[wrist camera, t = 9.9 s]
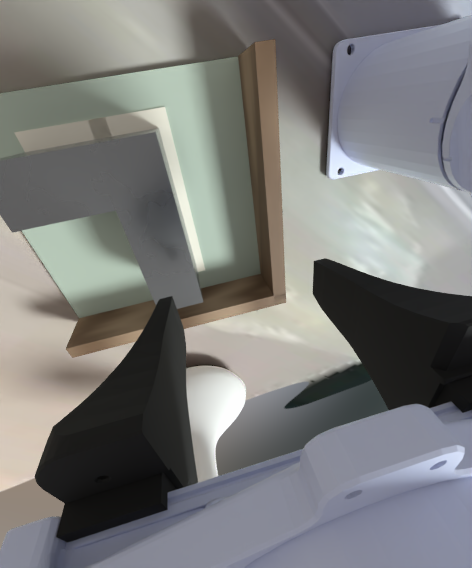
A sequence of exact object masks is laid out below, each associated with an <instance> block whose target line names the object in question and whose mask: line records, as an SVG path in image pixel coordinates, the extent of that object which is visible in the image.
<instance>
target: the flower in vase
mask: <svg viewBox="0 0 472 568" xmlns="http://www.w3.org/2000/svg"><path fill="white" fill-rule="evenodd" d="M186 390H187V402H188V411H189V419H190V427H191V435H192V443H193V450H194V457H195V464H196V471H197V478H198V483H199V482H202V481H205V480H208V479H211V478H214V477H217V476H218V472H217V466H216V456H215V449H216V444H217V441H218V439H219V437H220V436H221V435H222V433H223V432H224V431H225V430H226V429H227V428H228V427H229V426H230V425H231V423H232V422H233V421H234V420H235V419H236V418H237V416H238V415H239V413H240V411H241V410H242V408H243V406H244V403H245V398H246V387H245V384H244V382H243V381H242V380H241V379H240V378H239V377H238V376H237V375H235V374H234V373H233V372H231V371H229V370H227V369H224V368H221V367H217V366H195V367H190V368H186Z"/></svg>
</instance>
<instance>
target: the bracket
mask: <svg viewBox="0 0 472 568" xmlns="http://www.w3.org/2000/svg"><path fill="white" fill-rule="evenodd" d="M112 211H116V212H117V215H118V217H119V219H120V222H121V224H122V226H123V229H124V231H125V234H126V236H127V238H128V241H129V243H130V245H131V248H132V250H133V253H134V255H135V257H136V260H137V262H138V264H139V267H140V269H141V272H142V274H143V276H144V279H145V281H146V283H147V286H148V288H149V291H150V293H151V295H152V298H153V300H154V302H155V305H157V302H158V301H159V299H162V298H166V297H170V296H172V297H173V299H174V302H175V305H176V308H177V309H179V308H183V307H187V306H191V305H195V304H199V303H202V302H203V297H202V292H201V287H200V281H199V276H198V271H197V266H196V262H195V259H194V255H193V251H192V248H191V244H190V240H189V237H188V233H187V229H186V226H185V222H184V218H183V215H182V211H181V207H180V204H179V200H178V196H177V193H176V189H175V185H174V182H173V178H172V174H171V171H170V167H169V163H168V160H167V156H166V152H165V149H164V145H163V141H162V138H161V134H160V130H159V128H155V129H150V130H144V131H139V132H133V133H128V134H123V135H117V136H112V137H106V138H101V139H95V140H90V141H84V142H79V143H73V144H68V145H63V146H57V147H52V148H46V149H41V150H35V151H30V152H24V153H20V154H16V155H12V156H8V157H4V158H0V215H1V217H2V218H3V220H4V221H5V223H6V224H7V225H8V227H9V228H10V230H11V231H12V232H17V231H22V230H26V229H31V228H36V227H41V226H45V225H50V224H55V223H60V222H64V221H69V220H74V219H78V218H83V217H88V216H93V215H97V214H102V213H107V212H112Z"/></svg>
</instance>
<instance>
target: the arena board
mask: <svg viewBox="0 0 472 568" xmlns="http://www.w3.org/2000/svg"><path fill="white" fill-rule="evenodd" d="M155 128H159V130H160V134H161V138H162V141H163V145H164V149H165V152H166V156H167V160H168V163H169V167H170V171H171V174H172V178H173V182H174V185H175V189H176V193H177V196H178V200H179V204H180V207H181V211H182V215H183V218H184V222H185V226H186V229H187V233H188V237H189V240H190V244H191V248H192V251H193V255H194V259H195V262H196V266H197V271H198V276H199V281H200V287H201V288H205V287H209V286H213V285H217V284H221V283H225V282H229V281H233V280H237V279H241V278H245V277H249V276H254V275H258V274H261V272H260V262H259V253H258V243H257V234H256V224H255V214H254V205H253V195H252V186H251V176H250V167H249V157H248V147H247V138H246V128H245V119H244V109H243V99H242V90H241V80H240V71H239V61H238V57H231V58H225V59H218V60H212V61H205V62H199V63H192V64H186V65H179V66H173V67H167V68H160V69H154V70H147V71H141V72H134V73H128V74H121V75H115V76H109V77H102V78H96V79H89V80H83V81H76V82H70V83H63V84H57V85H50V86H44V87H38V88H31V89H25V90H18V91H12V92H5V93H0V158H4V157H8V156H12V155H16V154H20V153H24V152H30V151H35V150H41V149H46V148H52V147H57V146H63V145H68V144H73V143H79V142H84V141H90V140H95V139H101V138H106V137H112V136H117V135H123V134H128V133H133V132H139V131H144V130H150V129H155ZM22 232H23V234H24V235H25V237H26V238H27V240H28V241H29V243H30V244H31V246H32V247H33V249H34V250H35V252H36V253H37V255H38V257H39V258H40V260H41V261H42V263H43V264H44V266H45V267H46V269H47V270H48V272H49V273H50V275H51V276H52V278H53V279H54V281H55V282H56V284H57V285H58V287H59V288H60V290H61V291H62V293H63V294H64V296H65V298H66V299H67V301H68V302H69V304H70V305H71V307H72V308H73V310H74V311H75V313H76V314H77V316H78V317H79V318H82V317H86V316H90V315H94V314H98V313H102V312H106V311H111V310H115V309H119V308H123V307H127V306H131V305H135V304H139V303H143V302H147V301H151V300H153V298H152V295H151V293H150V291H149V288H148V286H147V283H146V281H145V279H144V276H143V274H142V272H141V269H140V267H139V264H138V262H137V260H136V257H135V255H134V253H133V250H132V248H131V245H130V243H129V241H128V238H127V236H126V234H125V231H124V229H123V226H122V224H121V222H120V219H119V217H118V215H117V212H116V211H112V212H107V213H102V214H97V215H93V216H88V217H83V218H78V219H74V220H69V221H64V222H60V223H55V224H50V225H45V226H41V227H36V228H31V229H26V230H22Z"/></svg>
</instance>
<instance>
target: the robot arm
mask: <svg viewBox="0 0 472 568" xmlns="http://www.w3.org/2000/svg"><path fill="white" fill-rule="evenodd" d="M349 45H350V47H351V53H350V55H348V53H347V48H348V46H349ZM339 168H341V172H340V173H339V174H338V170H339ZM376 170H383V171H387V172H391V173H395V174H399V175H403V176H407V177H411V178H415V179H419V180H423V181H427V182H430V183H434V184H438V185H442V186H446V187H450V188H454V189H458V190H463V191H465V192H467V193H469V194H470V195H471V197H472V15H469V16H466V17H463V18H460V19H457V20H454V21H451V22H448V23H445V24H442V25H435V26H429V27H422V28H416V29H409V30H403V31H396V32H390V33H384V34H377V35H371V36H364V37H358V38H351V39H345V40H342V41H340V42H338V43H337V44H336V45H335V47H334V49H333V58H332V76H331V95H330V113H329V132H328V150H327V169H326V175H327V177H328V178H330V179H338V178H343V177H347V176H352V175H357V174H361V173H366V172H371V171H376ZM313 295H314V296H315V298H316V300H317V302H318V304H319V305H320V307H321V308H322V310H323V311H324V312H325V314H326V315H327V316H328V318H329V319H330V320H331V321H332V323H333V324H334V325H335V326H336V327H337V329H338V330H339V331H340V332H341V334H342V335H343V336H344V337H345V339H346V340H347V341H348V342H349V344H350V345H351V347H352V348H353V349H354V351H355V353H356V354H357V356H358V357H359V359H360V360H361V362H362V364H363V365H364V367H365V368H366V370H367V372H368V373H369V375H370V377H371V378H372V380H373V382H374V384H375V385H376V387H377V389H378V391H379V393H380V394H381V396H382V398H383V400H384V401H385V403H386V405H387V407H388V409H389V411H386V412H383V413H380V414H377V415H374V416H370V417H367V418H364V419H361V420H357V421H355V422H351V423H348V424H345V425H342V426H339V427H335V428H332V429H330V430H328V431H326V432H323V433H321V434H319V435H317V436H316V437H315V438H313V439H312V440H311V441H309V442H308V443H307V444H306V445H305V447H304V449H301V450H298V451H295V452H292V453H289V454H286V455H283V456H280V457H277V458H273V459H270V460H267V461H264V462H261V463H258V464H255V465H252V466H248V467H246V468H242V469H239V470H236V471H233V472H230V473H227V474H224V475H220V476H217V477H214V478H211V479H208V480H205V481H202V482H199V483H198V478H197V471H196V464H195V457H194V450H193V443H192V435H191V427H190V419H189V411H188V402H187V390H186V342H185V335H184V328H183V325H182V322H181V319H180V316H179V313H178V311H177V308H176V305H175V302H174V299H173V297H172V296H170V297H166V298H162V299H159V301H158V302H157V305H156V307H155V309H154V311H153V313H152V315H151V317H150V319H149V320H148V322H147V324H146V326H145V328H144V329H143V331H142V333H141V334H140V336H139V338H138V339H137V341H136V342H135V344H134V345H133V347H132V348H131V350H130V351H129V353H128V354H127V355H126V357H125V358H124V359H123V360H122V362H121V363H120V364H119V365H118V366H117V367H116V369H115V370H114V371H113V372H112V373H111V374H110V375H109V376H108V378H107V379H106V380H105V381H104V382H103V383H102V384H101V385H100V386H99V387H98V388H97V389H96V390H95V391H94V392H93V393H92V394H91V395H90V396H89V397H88V398H86V399H85V400H84V401H83V402H82V403H81V404H80V405H79V406H78V407H76V408H75V409H74V410H73V411H72V412H70V413H69V414H68V415H67V416H66V417H64V418H63V419H62V420H61V421H60V422H58V423H57V424H56V425H55V426H53V429H52V431H51V433H50V436H49V438H48V440H47V443H46V446H45V449H44V452H43V454H42V457H41V460H40V463H39V466H38V468H37V471H36V474H35V479H36V482H37V484H38V485H39V486H40V487H41V488H42V489H43V490H45V491H46V492H48V493H50V494H51V495H53V496H54V497H56V498H58V499H59V500H61V501H62V502H64V503H65V505H64V509H63V513H62V516H61V517H48V518H44V519H42V520H38V521H35V522H32V523H28V524H25V525H22V526H19V527H16V528H13V529H11V530H9V531H8V532H7V534H6V536H5V539H4V541H3V544H2V547H1V549H0V568H472V296H463V295H455V294H447V293H440V292H434V291H429V290H423V289H418V288H413V287H409V286H405V285H401V284H397V283H393V282H390V281H387V280H383V279H380V278H377V277H374V276H371V275H368V274H366V273H363V272H360V271H358V270H355V269H353V268H350V267H347V266H345V265H342V264H340V263H337V262H335V261H332V260H329V259H321V260H317V261H314V275H313Z"/></svg>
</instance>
